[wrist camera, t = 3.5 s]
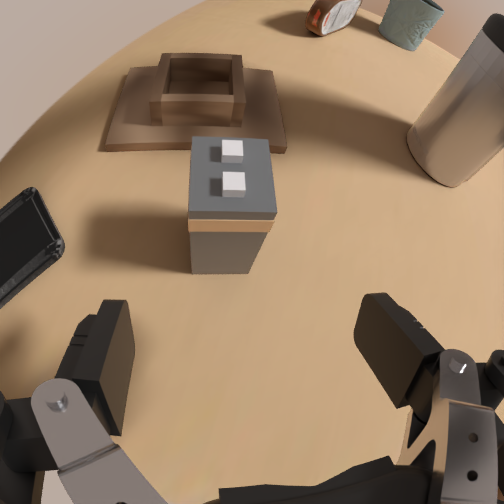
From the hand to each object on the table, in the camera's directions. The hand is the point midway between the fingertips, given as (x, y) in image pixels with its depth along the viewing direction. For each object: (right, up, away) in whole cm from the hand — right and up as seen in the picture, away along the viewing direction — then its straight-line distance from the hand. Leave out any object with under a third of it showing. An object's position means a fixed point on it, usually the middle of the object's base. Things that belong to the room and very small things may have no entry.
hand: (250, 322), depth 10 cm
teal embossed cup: (+29, +44, +36) cm, 64 cm away
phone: (-22, +1, +9) cm, 24 cm away
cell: (-2, +3, +13) cm, 13 cm away
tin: (+13, +39, +31) cm, 51 cm away
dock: (-5, +17, +18) cm, 25 cm away
